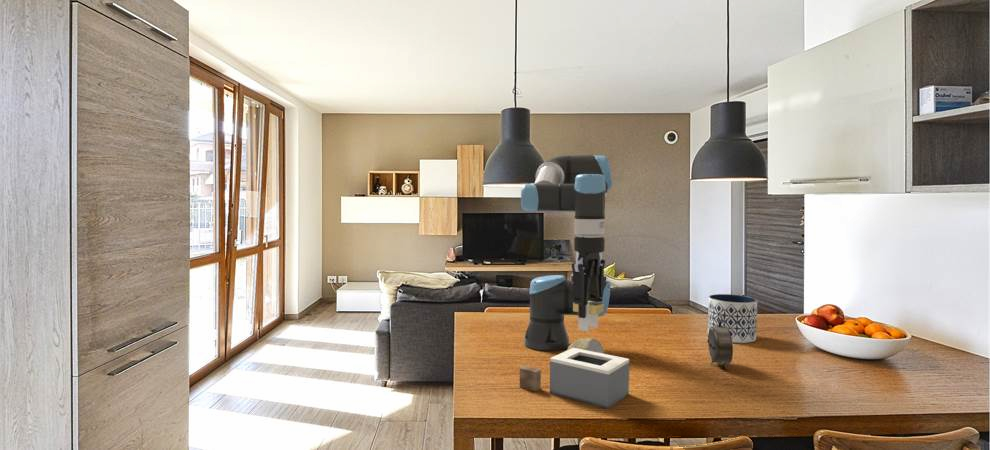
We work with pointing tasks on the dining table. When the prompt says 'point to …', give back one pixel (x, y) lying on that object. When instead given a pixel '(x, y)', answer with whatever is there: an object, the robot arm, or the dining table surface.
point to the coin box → (589, 377)
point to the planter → (734, 315)
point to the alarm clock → (720, 344)
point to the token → (592, 307)
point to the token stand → (530, 378)
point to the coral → (587, 345)
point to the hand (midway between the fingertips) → (588, 328)
